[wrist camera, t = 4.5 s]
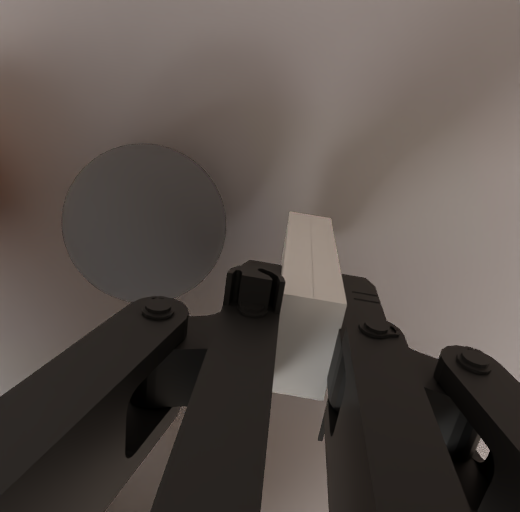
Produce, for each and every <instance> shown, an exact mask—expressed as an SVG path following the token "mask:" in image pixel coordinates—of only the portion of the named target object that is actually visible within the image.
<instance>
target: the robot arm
mask: <svg viewBox="0 0 520 512" xmlns="http://www.w3.org/2000/svg"><path fill="white" fill-rule="evenodd" d="M188 316H189V313H188V308H187V307H186V306H185V305H184V304H183V303H182V302H180V301H177V300H175V299H173V298H167V297H165V296H150V297H146V298H141V299H138V300H136V301H134V302H132V303H130V304H129V305H128V306H126V307H125V308H124V309H122V310H121V311H119V312H118V313H117V314H115V315H114V316H112V317H111V318H110V319H108V320H107V321H105V322H104V323H103V324H101V325H100V326H98V327H97V328H96V329H94V330H93V331H91V332H90V333H89V334H87V335H86V336H84V337H83V338H82V339H80V340H79V341H78V342H76V343H75V344H73V345H72V346H71V347H69V348H68V349H66V350H65V351H64V352H62V353H61V354H59V355H58V356H57V357H55V358H54V359H52V360H51V361H50V362H48V363H47V364H45V365H44V366H43V367H41V368H40V369H38V370H37V371H36V372H34V373H33V374H32V375H30V376H29V377H27V378H26V379H25V380H23V381H22V382H20V383H19V384H18V385H16V386H15V387H13V388H12V389H11V390H9V391H8V392H6V393H5V394H4V395H2V396H1V397H0V512H104V511H105V510H106V508H107V507H108V506H109V505H110V503H111V502H112V501H113V499H114V498H115V497H116V495H117V494H118V493H119V491H120V490H121V489H122V487H123V486H124V485H125V483H126V482H127V481H128V480H129V478H130V477H131V476H132V474H133V473H134V472H135V470H136V469H137V468H138V466H139V465H140V464H141V462H142V461H143V460H144V458H145V457H146V456H147V455H148V453H149V452H150V451H151V449H152V448H153V447H154V445H155V444H156V443H157V441H158V440H159V439H160V437H161V436H162V435H163V434H164V432H165V431H166V430H167V428H168V427H169V426H170V424H171V423H172V422H173V420H174V419H175V418H176V416H177V414H178V412H179V410H180V406H187V409H186V412H185V415H184V417H183V420H182V423H181V426H180V429H179V432H178V434H177V437H176V440H175V443H174V446H173V449H172V451H171V454H170V457H169V460H168V463H167V466H166V469H165V471H164V474H163V477H162V480H161V483H160V486H159V488H158V491H157V494H156V497H155V500H154V503H153V505H152V508H151V511H150V512H260V509H261V499H262V489H263V479H264V469H265V458H266V448H267V438H268V428H269V418H270V408H271V398H272V392H273V393H279V394H285V395H290V396H296V397H302V398H307V399H313V400H319V401H323V400H324V396H325V392H326V388H327V387H328V401H327V405H326V409H325V413H324V417H323V421H322V425H321V429H320V433H319V437H318V441H322V440H323V437H324V434H325V447H326V466H327V485H328V504H329V512H520V383H519V382H518V381H517V380H516V379H515V378H514V377H513V376H512V375H511V374H510V373H509V372H508V371H507V370H506V369H505V368H504V367H503V366H502V365H501V364H500V363H498V362H497V361H496V360H494V359H493V358H492V357H490V356H488V355H486V354H484V353H483V352H482V351H480V350H477V349H473V348H471V347H467V346H466V347H464V346H457V345H455V346H447V347H445V348H444V349H442V351H441V353H440V356H439V359H436V358H433V357H430V356H428V355H425V354H422V353H419V352H417V351H414V350H412V349H410V348H409V347H408V344H407V342H406V339H405V337H404V335H403V333H402V332H401V330H400V329H399V328H397V327H396V326H395V325H393V324H392V323H390V322H388V321H386V318H385V315H384V312H383V309H382V306H381V304H380V300H379V297H378V294H377V291H376V288H375V286H374V285H373V284H372V283H370V282H369V281H368V280H367V279H366V278H362V277H356V276H350V275H344V274H341V269H340V264H339V259H338V253H337V248H336V243H335V237H334V232H333V227H332V221H331V218H327V217H321V216H315V215H309V214H303V213H297V212H289V218H288V224H287V230H286V235H285V241H284V247H283V253H282V258H281V264H280V265H277V264H271V263H265V262H259V261H253V260H249V261H248V262H246V263H244V264H243V265H241V266H237V267H234V268H231V269H230V270H229V271H228V272H227V278H226V286H225V294H224V302H223V307H222V310H221V312H219V313H216V314H213V315H208V316H191V317H188ZM481 438H482V440H483V441H484V442H485V444H486V445H487V446H488V448H489V450H490V452H489V454H488V456H487V458H486V460H485V461H484V460H483V459H482V458H481V456H480V455H479V454H478V452H477V451H476V448H477V446H478V443H479V441H480V439H481Z"/></svg>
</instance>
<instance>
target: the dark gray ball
mask: <svg viewBox="0 0 520 512" xmlns="http://www.w3.org/2000/svg"><path fill="white" fill-rule="evenodd" d="M62 233H63V238H64V242H65V245H66V248H67V251H68V254H69V256H70V258H71V260H72V262H73V264H74V265H75V266H76V268H77V269H78V270H79V272H80V273H81V274H82V275H83V276H84V277H85V278H86V279H87V280H88V281H89V282H90V283H91V284H92V285H94V286H95V287H96V288H98V289H99V290H101V291H102V292H104V293H106V294H108V295H110V296H113V297H115V298H118V299H121V300H124V301H129V302H134V301H136V300H138V299H141V298H146V297H150V296H165V297H167V298H176V297H178V296H180V295H182V294H184V293H186V292H188V291H189V290H191V289H192V288H194V287H195V286H196V285H198V284H199V283H200V282H201V281H202V280H203V279H204V278H205V277H206V276H207V275H208V274H209V273H210V271H211V270H212V268H213V267H214V265H215V264H216V262H217V260H218V258H219V256H220V253H221V250H222V248H223V244H224V240H225V233H226V217H225V210H224V205H223V202H222V199H221V196H220V194H219V192H218V190H217V188H216V186H215V184H214V183H213V181H212V180H211V178H210V177H209V175H208V174H207V173H206V172H205V171H204V170H203V169H202V168H201V167H200V166H199V165H198V164H197V163H196V162H194V161H193V160H192V159H190V158H189V157H187V156H186V155H184V154H182V153H180V152H178V151H176V150H173V149H170V148H167V147H164V146H159V145H154V144H131V145H126V146H121V147H118V148H115V149H112V150H110V151H107V152H105V153H103V154H101V155H100V156H98V157H97V158H95V159H94V160H92V161H91V162H90V163H89V164H88V165H86V166H85V167H84V168H83V169H82V171H81V172H80V173H79V174H78V175H77V177H76V178H75V180H74V182H73V183H72V185H71V186H70V188H69V191H68V193H67V195H66V198H65V202H64V206H63V213H62Z"/></svg>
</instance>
